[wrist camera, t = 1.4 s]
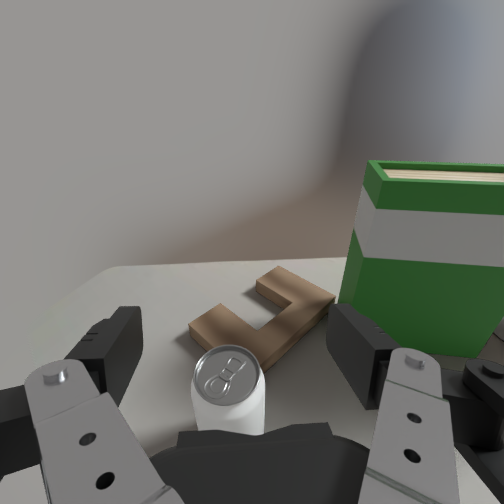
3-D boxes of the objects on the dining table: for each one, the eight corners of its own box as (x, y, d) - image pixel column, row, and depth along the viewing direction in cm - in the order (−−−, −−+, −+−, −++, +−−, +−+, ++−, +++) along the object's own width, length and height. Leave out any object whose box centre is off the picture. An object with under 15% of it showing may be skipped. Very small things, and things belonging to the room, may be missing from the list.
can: (189, 451, 29) (170, 383, 23) (226, 399, 34) (220, 330, 27) (241, 493, 26) (236, 428, 20) (274, 430, 31) (279, 361, 24)
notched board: (277, 276, 54) (278, 265, 52) (333, 307, 47) (335, 296, 45) (190, 335, 42) (188, 323, 41) (247, 389, 35) (246, 377, 33)
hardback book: (451, 318, 45) (532, 165, 32) (475, 358, 38) (588, 188, 25) (336, 307, 47) (367, 160, 34) (342, 343, 41) (382, 180, 28)
